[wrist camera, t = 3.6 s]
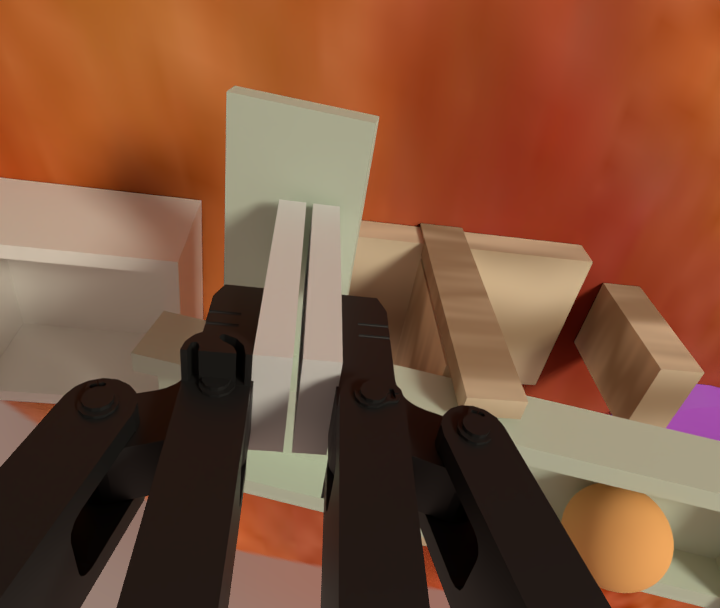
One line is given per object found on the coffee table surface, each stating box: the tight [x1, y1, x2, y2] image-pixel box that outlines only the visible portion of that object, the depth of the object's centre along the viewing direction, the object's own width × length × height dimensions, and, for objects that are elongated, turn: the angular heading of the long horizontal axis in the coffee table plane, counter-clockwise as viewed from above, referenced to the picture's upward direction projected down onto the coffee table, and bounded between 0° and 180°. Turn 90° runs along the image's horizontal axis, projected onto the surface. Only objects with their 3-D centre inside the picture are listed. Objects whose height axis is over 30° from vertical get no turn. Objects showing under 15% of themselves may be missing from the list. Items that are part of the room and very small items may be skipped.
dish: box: [0, 178, 203, 404], centre depth 25 cm, size 8×9×5 cm
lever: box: [131, 86, 720, 608], centre depth 18 cm, size 14×23×3 cm, turn 82°
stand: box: [349, 220, 704, 546], centre depth 25 cm, size 8×18×11 cm, turn 82°
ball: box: [561, 483, 674, 593], centre depth 20 cm, size 4×4×4 cm
